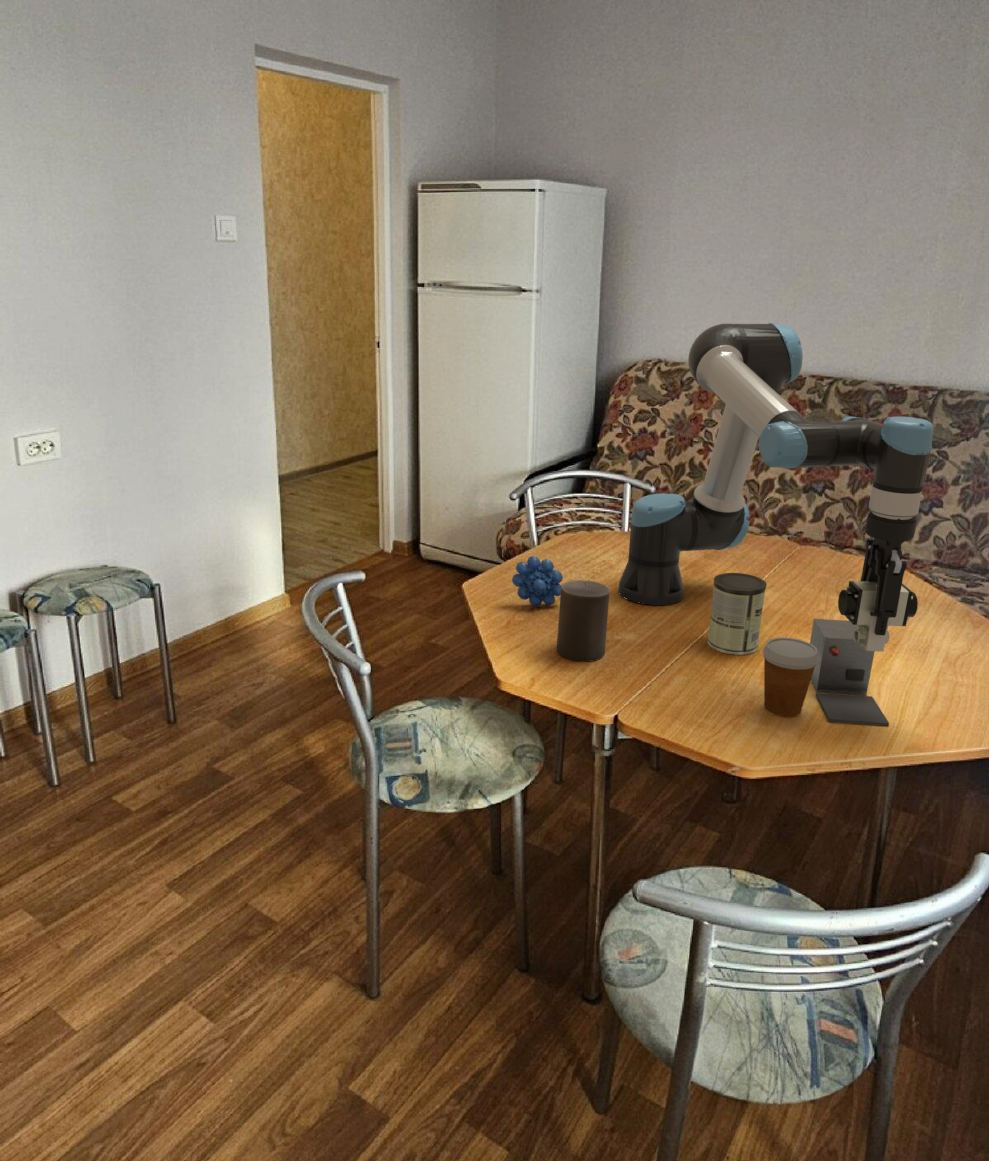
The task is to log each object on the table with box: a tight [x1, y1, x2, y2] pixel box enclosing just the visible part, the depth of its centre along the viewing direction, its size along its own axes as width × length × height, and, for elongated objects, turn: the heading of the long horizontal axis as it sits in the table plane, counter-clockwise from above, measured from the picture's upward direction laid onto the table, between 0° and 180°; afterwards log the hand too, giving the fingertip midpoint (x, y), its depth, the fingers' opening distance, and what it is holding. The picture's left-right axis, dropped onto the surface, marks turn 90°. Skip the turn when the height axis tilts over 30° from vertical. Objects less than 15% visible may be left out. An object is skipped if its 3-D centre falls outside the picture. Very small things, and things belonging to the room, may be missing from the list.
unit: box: [809, 618, 876, 696], centre depth 169 cm, size 9×10×11 cm
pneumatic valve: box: [837, 580, 919, 649], centre depth 154 cm, size 6×12×12 cm, turn 89°
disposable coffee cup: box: [762, 637, 820, 718], centre depth 159 cm, size 10×10×12 cm
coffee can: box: [706, 572, 767, 656], centre depth 184 cm, size 10×10×14 cm
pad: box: [815, 692, 890, 727], centre depth 161 cm, size 10×10×1 cm
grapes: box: [511, 555, 564, 607], centre depth 201 cm, size 12×7×12 cm, turn 96°
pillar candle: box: [556, 579, 611, 662], centre depth 179 cm, size 10×10×15 cm
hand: (869, 643), depth 156 cm, fingers closed on pneumatic valve, 5 cm apart
